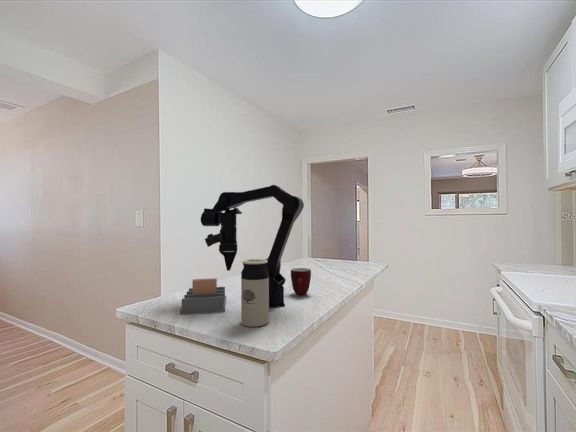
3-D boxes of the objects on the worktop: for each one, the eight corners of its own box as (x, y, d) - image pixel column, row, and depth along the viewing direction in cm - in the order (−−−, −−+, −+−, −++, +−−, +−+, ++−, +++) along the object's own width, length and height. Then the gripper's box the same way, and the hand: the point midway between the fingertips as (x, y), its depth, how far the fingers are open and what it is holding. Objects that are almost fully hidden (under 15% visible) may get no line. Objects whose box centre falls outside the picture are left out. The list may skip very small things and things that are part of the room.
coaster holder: (226, 298, 110) (226, 286, 110) (224, 311, 94) (224, 297, 94) (187, 300, 107) (187, 288, 108) (179, 314, 92) (179, 299, 92)
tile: (216, 300, 103) (216, 278, 103) (216, 302, 100) (216, 279, 101) (193, 302, 101) (193, 279, 101) (192, 304, 99) (192, 280, 99)
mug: (312, 299, 109) (312, 272, 109) (291, 299, 109) (291, 272, 109) (310, 292, 120) (309, 268, 120) (290, 292, 120) (290, 268, 120)
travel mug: (255, 316, 90) (255, 258, 90) (274, 321, 85) (274, 260, 85) (235, 323, 84) (235, 261, 84) (254, 329, 79) (254, 263, 79)
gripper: (208, 226, 115) (208, 265, 115) (203, 227, 97) (203, 273, 97) (236, 225, 117) (236, 264, 117) (237, 226, 99) (237, 272, 99)
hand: (228, 268), depth 107 cm, fingers open, 9 cm apart
